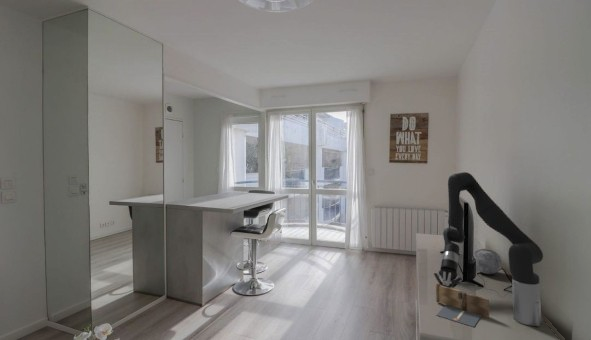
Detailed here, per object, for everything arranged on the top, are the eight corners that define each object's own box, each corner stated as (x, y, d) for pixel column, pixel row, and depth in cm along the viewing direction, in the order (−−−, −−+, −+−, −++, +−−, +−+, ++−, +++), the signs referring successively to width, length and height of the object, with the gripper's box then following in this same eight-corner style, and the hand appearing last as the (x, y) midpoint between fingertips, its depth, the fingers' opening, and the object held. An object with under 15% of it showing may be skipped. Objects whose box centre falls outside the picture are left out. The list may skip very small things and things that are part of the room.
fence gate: (462, 307, 139) (462, 289, 139) (461, 308, 138) (460, 290, 138) (437, 300, 147) (436, 283, 147) (435, 301, 146) (435, 284, 146)
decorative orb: (502, 271, 183) (501, 247, 182) (501, 279, 171) (500, 253, 171) (474, 267, 191) (473, 244, 191) (471, 274, 180) (470, 250, 180)
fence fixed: (489, 316, 132) (489, 298, 132) (488, 318, 130) (488, 300, 130) (462, 308, 139) (462, 291, 139) (461, 310, 138) (461, 293, 138)
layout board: (484, 311, 136) (484, 311, 136) (474, 327, 124) (473, 326, 124) (448, 302, 146) (448, 301, 146) (436, 315, 134) (436, 314, 134)
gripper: (434, 256, 157) (429, 287, 148) (463, 260, 149) (459, 293, 139) (437, 263, 161) (432, 294, 152) (465, 268, 153) (461, 300, 144)
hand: (445, 293), depth 146 cm, fingers closed
